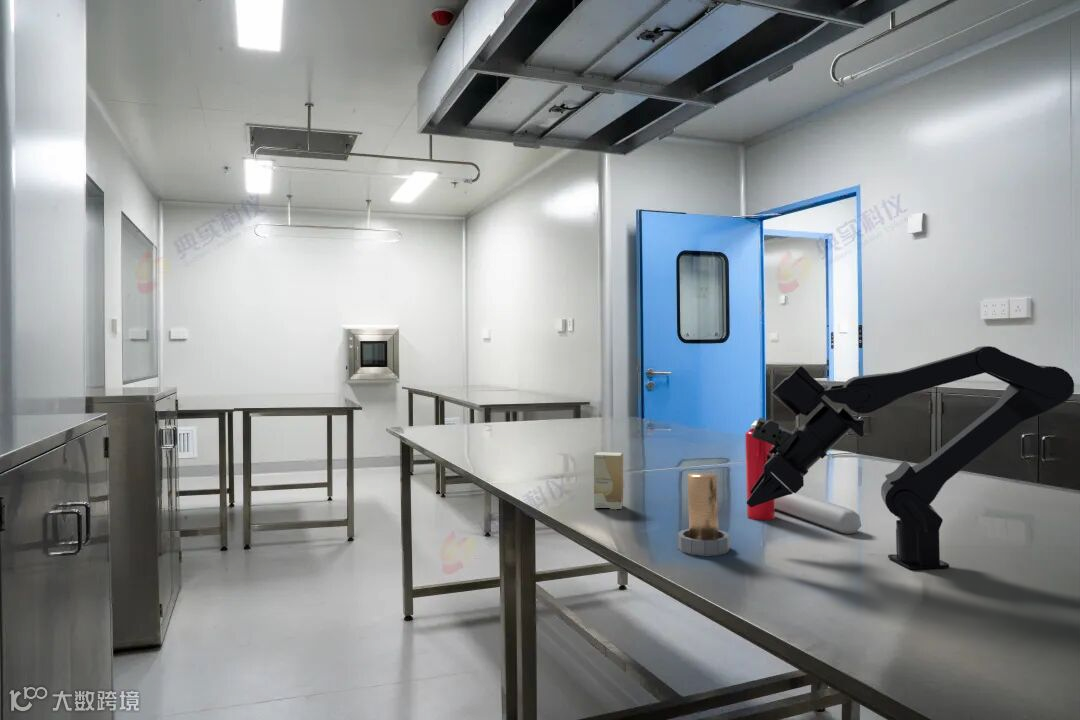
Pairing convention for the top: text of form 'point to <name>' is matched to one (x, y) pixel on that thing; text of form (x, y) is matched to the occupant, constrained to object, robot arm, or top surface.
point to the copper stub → (703, 506)
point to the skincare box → (608, 480)
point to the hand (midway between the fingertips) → (750, 499)
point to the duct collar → (704, 544)
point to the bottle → (757, 474)
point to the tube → (819, 512)
